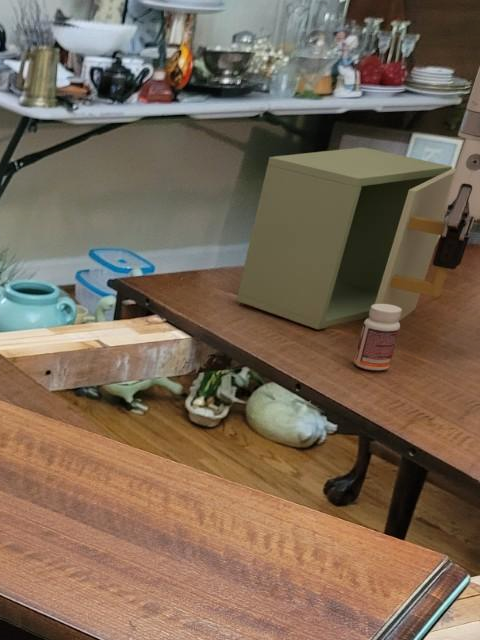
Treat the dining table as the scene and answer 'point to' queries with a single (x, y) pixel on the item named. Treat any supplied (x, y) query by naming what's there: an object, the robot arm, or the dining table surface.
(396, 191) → the cupboard
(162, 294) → the dining table surface
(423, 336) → the dining table surface
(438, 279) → the cupboard door
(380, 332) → the pill bottle
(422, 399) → the dining table surface
